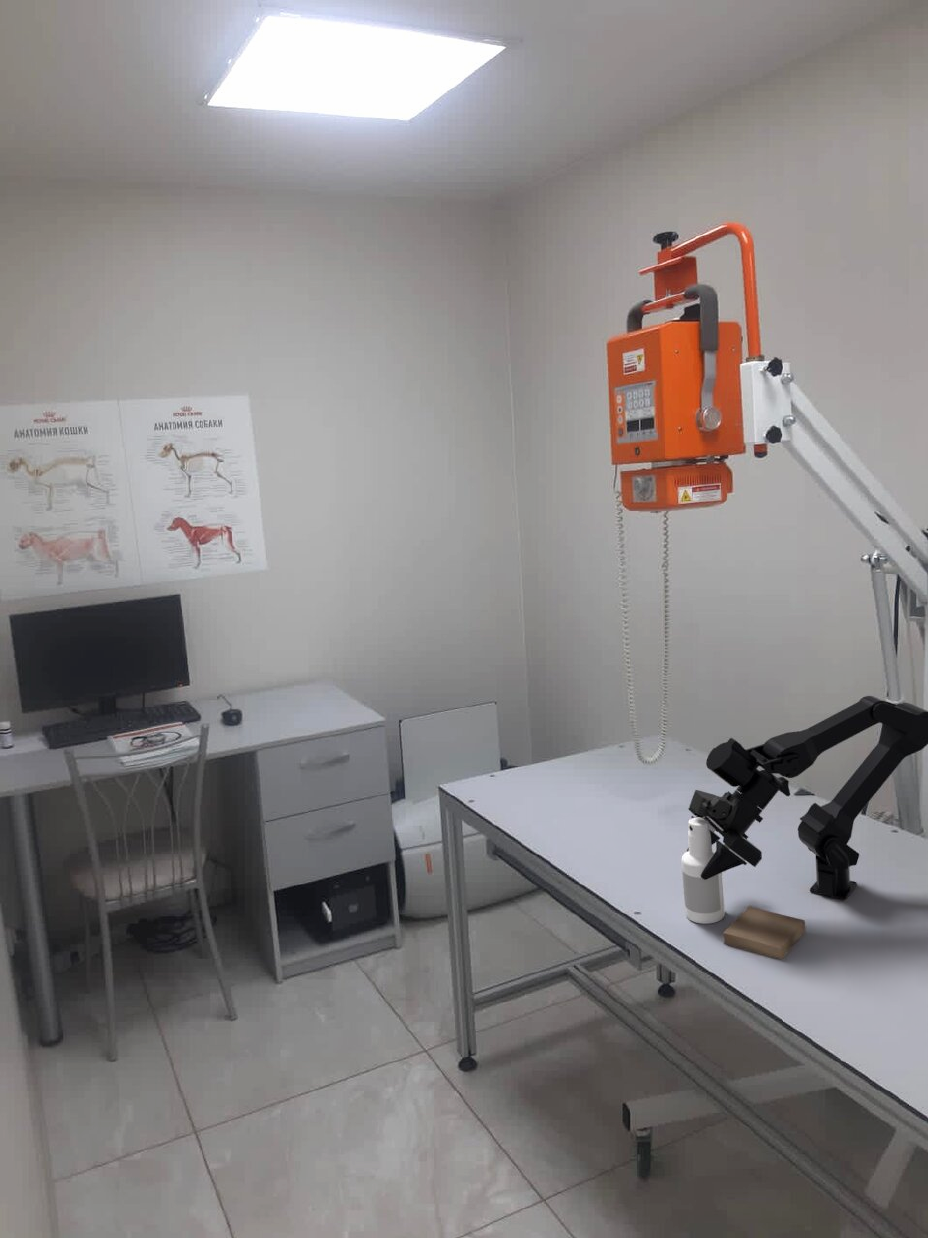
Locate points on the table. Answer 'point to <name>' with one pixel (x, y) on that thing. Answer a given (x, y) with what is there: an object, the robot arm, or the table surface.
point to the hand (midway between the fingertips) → (694, 869)
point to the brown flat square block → (764, 932)
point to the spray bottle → (698, 893)
